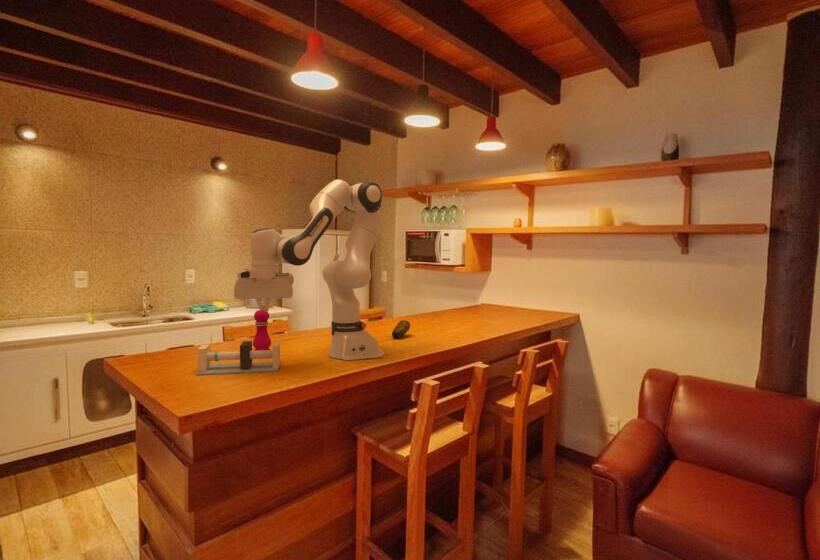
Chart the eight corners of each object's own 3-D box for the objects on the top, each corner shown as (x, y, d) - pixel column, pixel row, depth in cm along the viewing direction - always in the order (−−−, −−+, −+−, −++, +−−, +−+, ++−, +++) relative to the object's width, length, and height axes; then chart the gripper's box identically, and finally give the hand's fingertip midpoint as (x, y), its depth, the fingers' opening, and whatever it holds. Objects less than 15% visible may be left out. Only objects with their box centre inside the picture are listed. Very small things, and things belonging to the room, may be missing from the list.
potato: (385, 337, 217) (385, 321, 216) (403, 334, 226) (403, 318, 225) (396, 340, 211) (396, 323, 210) (415, 336, 220) (415, 320, 219)
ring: (252, 362, 164) (251, 340, 163) (249, 368, 156) (248, 345, 155) (243, 362, 163) (243, 341, 162) (240, 368, 155) (239, 346, 155)
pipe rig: (280, 362, 168) (280, 340, 167) (277, 371, 156) (277, 347, 155) (204, 366, 162) (204, 343, 161) (196, 375, 150) (195, 350, 150)
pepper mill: (265, 356, 177) (264, 307, 176) (249, 355, 179) (248, 306, 177) (274, 352, 184) (273, 305, 183) (258, 351, 186) (258, 304, 184)
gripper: (293, 272, 164) (294, 309, 165) (235, 272, 159) (236, 310, 160) (293, 273, 157) (293, 311, 158) (232, 273, 153) (233, 312, 154)
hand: (264, 310), depth 159 cm, fingers closed
